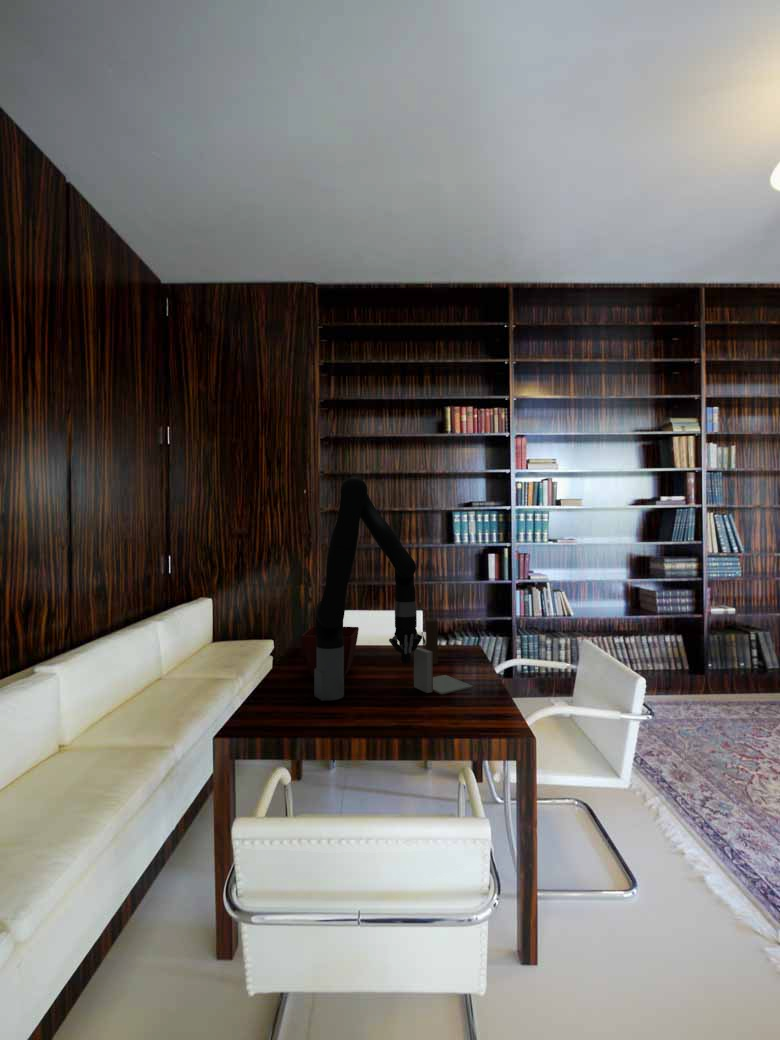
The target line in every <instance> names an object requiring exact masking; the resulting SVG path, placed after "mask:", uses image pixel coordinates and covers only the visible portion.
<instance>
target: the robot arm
mask: <svg viewBox="0 0 780 1040" xmlns="http://www.w3.org/2000/svg"><path fill="white" fill-rule="evenodd" d="M368 491H369V490H368V486H367V483H366V482H365V481H364V480H363V479H362V478H360V477H358V476H352V477H351V476H350V477H348V478H347V479H345V480H344V481H343V482H342V484H341V486H340V501H339V508H338V509H339V510H338V516H337V519H336V522H335V524H334V525H335V526H334V528H333V531H332V535H331V537H330V542H329V547H328V551H327V557H326V569H325V571H326V573H325V587H324V590H323V595H322V597H321V598H322V599H321V600H320V601H319V602H318V603H317V605H316V609H315V626H316V646H317V668H315V669H314V677H313V678H314V679H313V681H314V683H313V684H314V685H313V686H314V697H315V698H317V699H318V700H319V701H321V702H324V701H337V700H339V699H340V700H341V699H342V698H344V696H345V681H344V680H345V678H344V638H343V627H344V626H343V623H344V622H343V620H344V617H345V610H346V598H347V591H348V586H349V582H350V578H351V575H352V570H353V569H354V563H355V558H356V553H357V548H358V543H359V542H358V540H359V532H360V529H359V528H360V521H361V520H362V523H364V525H365V527H366V528H367V530H368V531H369V533H370V534H371V536H372V538H373V539H374V541H375V542H376V545H378V547H379V548H380V550H381V551H382V552H383V555H385V556H386V557H387V559H388V560H389V562H390V563H391V565H392V566H393V569H394V579H395V593H394V594H395V597H394V598H395V603H394V627H395V631H394V636H392V637H390V638H389V639H388V642H389V643H390V644H391V646H392V647H393V648H394V650H395V651H396V652H398V653H401V662H402V664H403V665H405V666H406V665H410V663H411V661H412V660H411V656H412V655H411V654H412V652H414V651H415V650H416V648H417V647H418V646H419V645H420V643H421V641H422V639H423V635H421V634H419V633H418V630H417V626H418V625H417V623H418V622H417V617H418V616H417V602H416V599H417V597H416V596H417V594H416V586H415V573H416V571H417V564H416V562H415V560H414V558H413V557H412V556H411V554H410V553H409V552H408V550H406V548H405V547H404V545H403V544H402V542H401V541H400V538H398V536H397V534H396V533H395V532H394V530H393V529H392V527H391V526H390V525H389V523H388V522H387V521H386V520H385V519H384V517H383V516H382V515H381V514H380V512H379V511H378V510H377V509H376V507H375V505H374V503H373V502H372V500H371V498H370V496H369V493H368Z"/></svg>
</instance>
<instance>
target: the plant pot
mask: <svg viewBox="0 0 780 1040" xmlns="http://www.w3.org/2000/svg"><path fill="white" fill-rule="evenodd" d="M359 629H360V628H359V627H358V626H343V638H344V679H345V677H346V676H347V674H348V673H349V672H350V669H351V666H352V663H353V660H354V656H355V652H356V648H357V647H356V646H357V642H358V636H359ZM301 640H302V648H303V652H304V658H305V661H306V665H307V668H308V672H309V674H310V676H311V678H314V669H315V668H317V646H316V625H313V626H311V627H310V628H309V629H307V631H305V632H304V633H303V634H301Z"/></svg>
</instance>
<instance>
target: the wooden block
mask: <svg viewBox="0 0 780 1040" xmlns="http://www.w3.org/2000/svg"><path fill="white" fill-rule="evenodd" d="M438 625H439V623H438V620H437V619H435V618H432V619H431V618H430V619H429V618H428V619H426V620H425V646H424V648H423V649H426V650H429V651H432V652H433V665H438V664H439V661H438V660H439V656H438V654H439V651H438V650H439V639H438V638H439V632H438V631H439V627H438Z"/></svg>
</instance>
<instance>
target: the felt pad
mask: <svg viewBox="0 0 780 1040" xmlns="http://www.w3.org/2000/svg"><path fill="white" fill-rule="evenodd" d="M473 688H474V686H473V685H471V684H469V683H466V682H464V681H462V680H459V679H457V678H454V677H452V676H449V675H446V674H444V675H443V674H442V675H437V676H433V692H435V693H438V694H440V695H441V696H442V695H446V694H447V695H448V694H450V693H454V692H459V691H464V690H467V689H468V690H469V689H473Z"/></svg>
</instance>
